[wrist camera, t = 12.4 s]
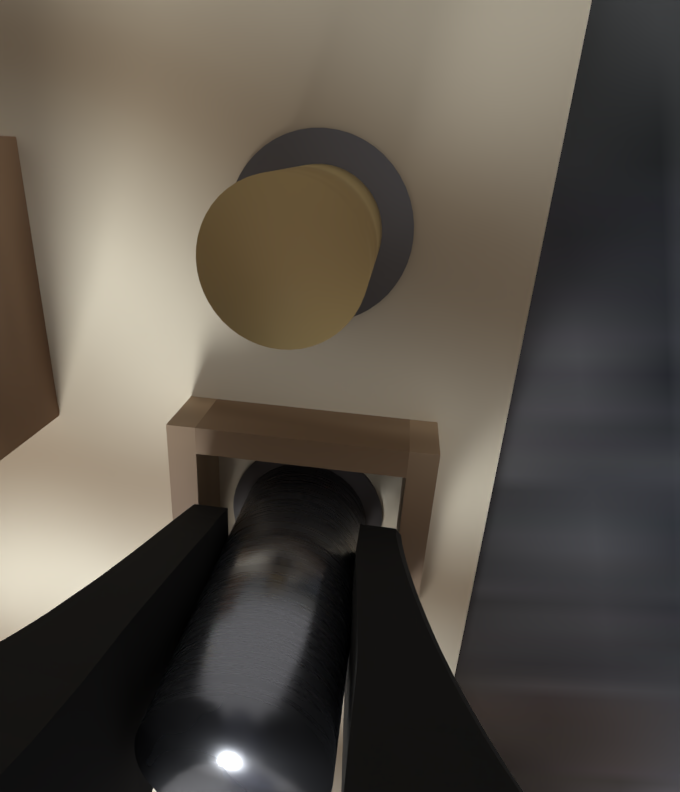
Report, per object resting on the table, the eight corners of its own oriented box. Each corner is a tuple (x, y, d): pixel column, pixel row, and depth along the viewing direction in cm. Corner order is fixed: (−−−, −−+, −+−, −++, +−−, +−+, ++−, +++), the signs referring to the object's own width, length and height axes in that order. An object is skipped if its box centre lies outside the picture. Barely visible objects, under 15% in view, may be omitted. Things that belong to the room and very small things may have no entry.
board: (421, 790, 16) (424, 986, 12) (-21, 719, 17) (-142, 881, 14) (573, -2, 9) (703, -121, 5) (-243, -39, 10) (-673, -161, 6)
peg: (358, 573, 12) (323, 845, 7) (243, 554, 12) (138, 810, 7) (372, 473, 11) (342, 717, 6) (247, 455, 11) (128, 679, 6)
